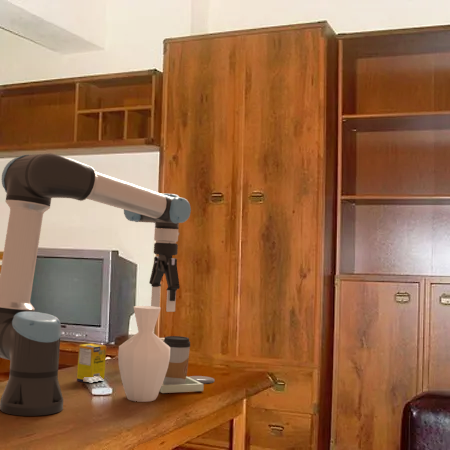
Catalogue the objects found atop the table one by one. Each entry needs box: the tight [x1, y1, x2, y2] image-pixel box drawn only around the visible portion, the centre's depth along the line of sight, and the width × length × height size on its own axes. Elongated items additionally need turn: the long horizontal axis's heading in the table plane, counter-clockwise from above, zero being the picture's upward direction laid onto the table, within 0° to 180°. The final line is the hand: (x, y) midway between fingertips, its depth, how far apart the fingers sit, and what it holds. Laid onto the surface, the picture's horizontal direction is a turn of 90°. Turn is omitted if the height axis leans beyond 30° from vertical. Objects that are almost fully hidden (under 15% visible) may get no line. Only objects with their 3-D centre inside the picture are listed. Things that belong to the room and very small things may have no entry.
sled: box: [159, 337, 205, 394], centre depth 212 cm, size 13×25×12 cm, turn 28°
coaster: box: [188, 375, 215, 385], centre depth 220 cm, size 9×9×1 cm
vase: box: [117, 305, 170, 403], centre depth 192 cm, size 14×14×25 cm
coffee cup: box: [163, 335, 191, 385], centre depth 207 cm, size 8×8×15 cm
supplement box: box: [76, 343, 107, 383], centre depth 210 cm, size 6×6×11 cm
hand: (162, 309), depth 221 cm, fingers open, 13 cm apart
